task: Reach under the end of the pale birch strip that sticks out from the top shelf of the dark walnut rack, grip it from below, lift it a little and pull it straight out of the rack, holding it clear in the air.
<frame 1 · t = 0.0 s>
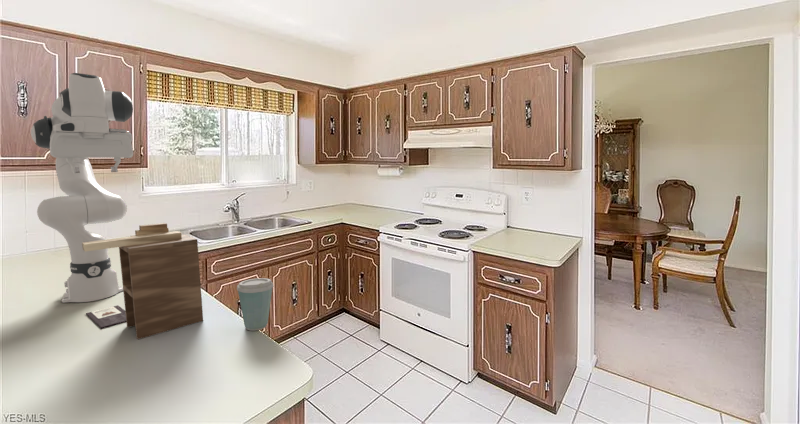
hand: (95, 172, 119), 48 cm above the countertop, tool pointing down, fingers open, 8 cm apart
disposable coffee cup: (257, 327, 119), on the countertop
chocolate bar: (110, 318, 126), on the countertop
birch strip: (135, 243, 113), point 27 cm above the countertop, touching rack
rack: (165, 323, 121), on the countertop
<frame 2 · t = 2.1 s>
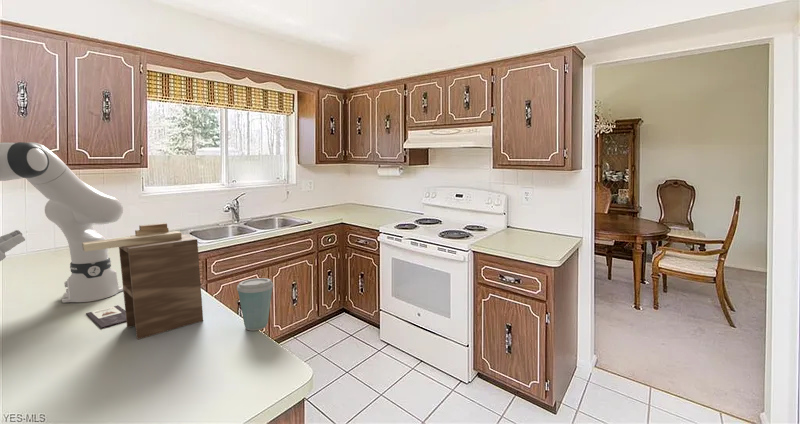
hand: (21, 234, 95), 33 cm above the countertop, tool pointing upward, fingers open, 8 cm apart
nothing on the countertop moved.
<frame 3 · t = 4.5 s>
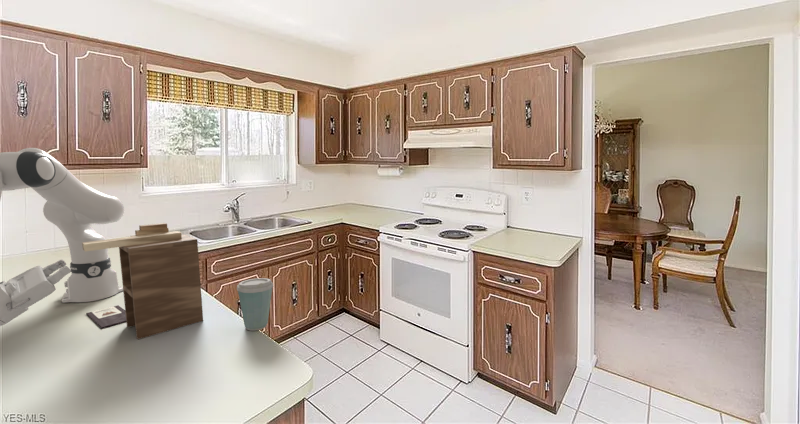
hand: (66, 264, 102), 24 cm above the countertop, tool pointing upward, fingers open, 8 cm apart
nothing on the countertop moved.
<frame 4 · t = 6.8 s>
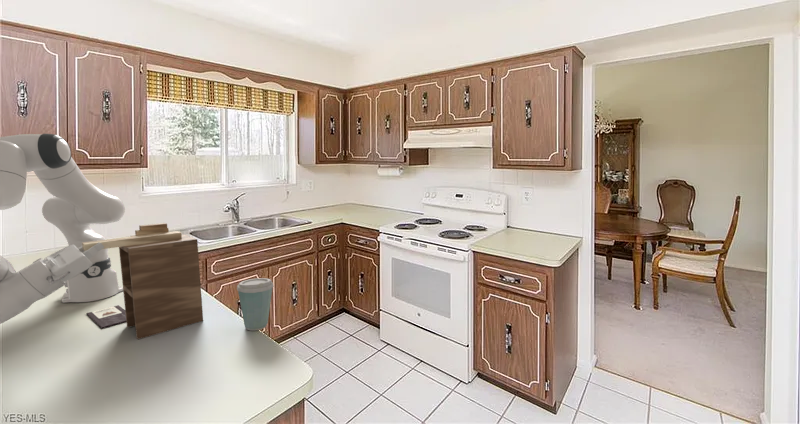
hand: (100, 243, 107), 28 cm above the countertop, tool pointing upward, fingers closed on birch strip, 3 cm apart
birch strip: (135, 243, 113), point 27 cm above the countertop, touching gripper, rack
everything else where it was.
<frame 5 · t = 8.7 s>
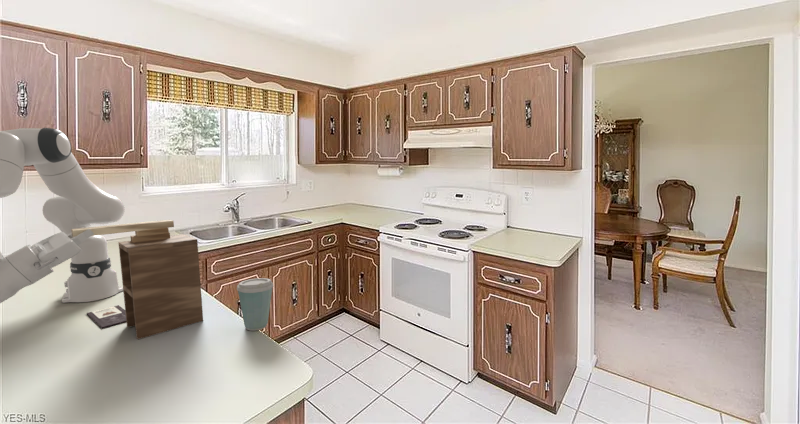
hand: (90, 230, 105), 33 cm above the countertop, tool pointing upward, fingers closed on birch strip, 3 cm apart
birch strip: (126, 231, 111), point 31 cm above the countertop, touching gripper
everything else where it was.
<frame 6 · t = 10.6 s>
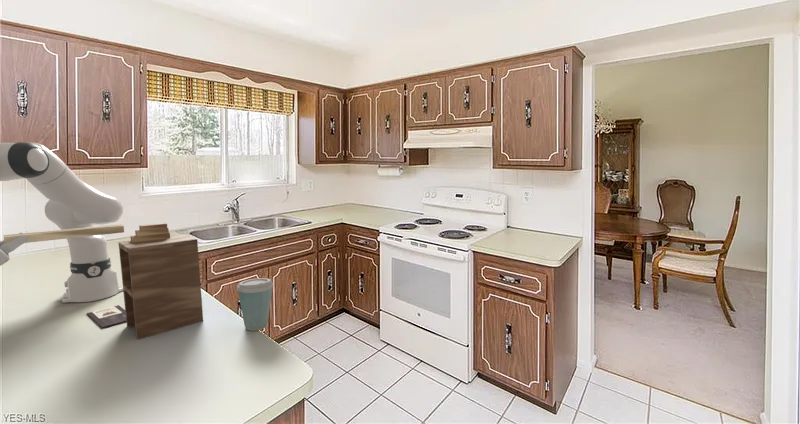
hand: (25, 236, 96), 33 cm above the countertop, tool pointing upward, fingers closed on birch strip, 3 cm apart
birch strip: (68, 237, 102), point 31 cm above the countertop, touching gripper
everything else where it was.
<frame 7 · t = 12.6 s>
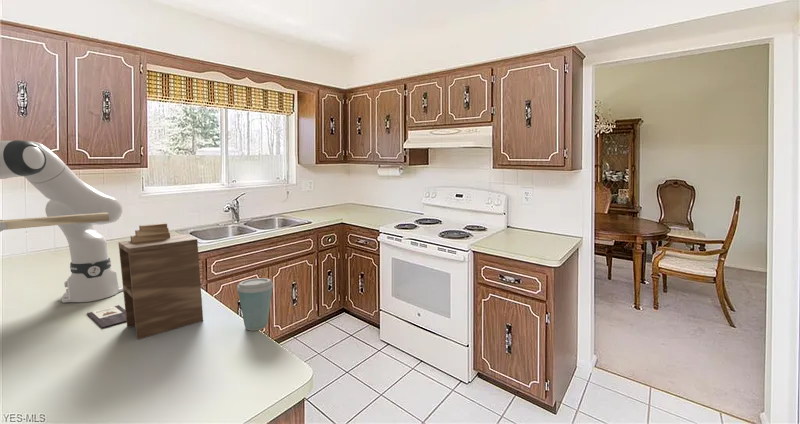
hand: (5, 223, 93), 36 cm above the countertop, tool pointing upward, fingers closed on birch strip, 3 cm apart
birch strip: (51, 224, 99), point 35 cm above the countertop, touching gripper
everything else where it was.
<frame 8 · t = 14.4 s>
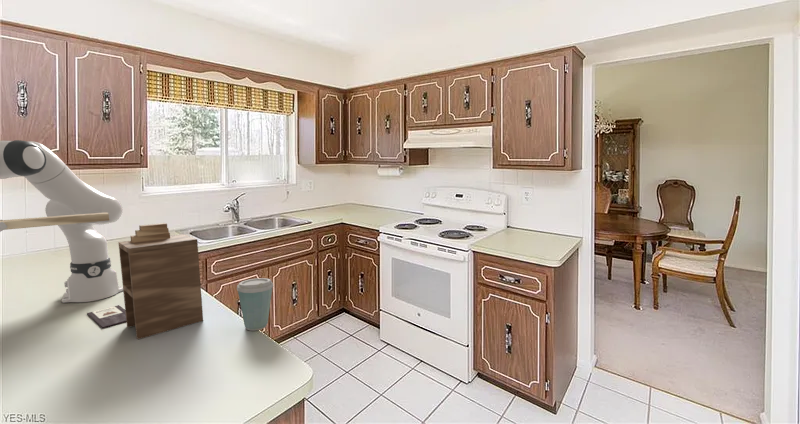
hand: (5, 223, 93), 36 cm above the countertop, tool pointing upward, fingers closed on birch strip, 3 cm apart
birch strip: (51, 224, 99), point 35 cm above the countertop, touching gripper
everything else where it was.
at the end: birch strip inside the target area (2.5 cm from its centre), point 34.9 cm above the countertop; birch strip touching gripper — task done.
